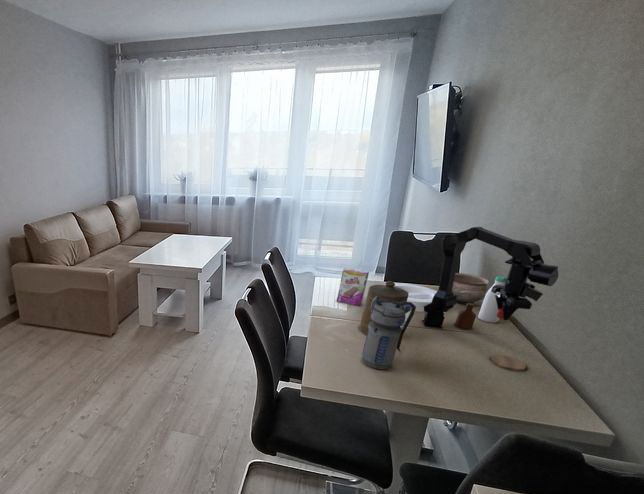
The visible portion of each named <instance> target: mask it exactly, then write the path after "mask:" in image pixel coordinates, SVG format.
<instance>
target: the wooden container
mask: <svg viewBox="0 0 644 494" xmlns="http://www.w3.org/2000/svg"><path fill="white" fill-rule="evenodd" d="M395 283H396V282H394V281H392V280H387V281H386V282H385V284H386V285H384V284H373V285H370V286H369V287H368V291H367V295H366V299H365V303H364V307H363V310H362V314H361V318H360V323H359V330H360V331H361V333H363V334H365V335H367V332H368V327H369V323H370V322H371V321H372V319H371V314H372V312H371V304H372V300H373V299H374V298H375V297H376V296H379V300H389V303H392V302H391V301H394V302H403V301H406V302H407V299H408V295H409V294H408V292H407V291H405V290H403V289H401V288H398V287H394V286H395ZM400 306H401V307H403V305H400Z"/></svg>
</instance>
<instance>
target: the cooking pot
mask: <svg viewBox="0 0 644 494" xmlns="http://www.w3.org/2000/svg"><path fill="white" fill-rule="evenodd" d="M489 283H490V281H489V280H488V279H486V278H484V277H483V276H482V277H481V276H479V275H474V274H469V273H463V272H456V273H455V278H454V283H453V288H452V292H453V294H454V295H457V298H456V304H461V305H466V304H467V303H471V304H473V303H475V302H479V301H482V300H484V298H485V295H486V293H487V292H488V284H489Z"/></svg>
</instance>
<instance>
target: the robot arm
mask: <svg viewBox="0 0 644 494" xmlns="http://www.w3.org/2000/svg"><path fill="white" fill-rule="evenodd" d="M473 240H478V241H481V242H482V243H485V244H489V245H490V246H493V247H495V248H498V249H500V250H503V251H504V252H505V253H507V255H508V256H509V257H511V258H510V259H507V260H505V261H504V263H505V264H507V265H510V268H509V270H508V273H507V276H506V277H507V278H504V281H505V285H504V286H503V285H495V286H493V285H492V286H493V287H492V286H491V287H492V290H491V292H493V293H496V292H498V295H495V298H496V303H497V307H498V310H499V308H503V319H502V320H503V321H509V320H510V319H511V318H512V315H513V314H514V313H515V312H517V310H519V309H522V310H531V308H532V306H533V303H532V302H531V300H533V301H535V302H538V301H539V300H540V298H541V297H542V296H543V295H544V293H543V292H541V291H539V290H538V289H536V286H535V285H534V283H535V284H538V285H543V286H547V287H552V286H554V284H555V283H556V282H557V281H558V279H559V276H560V275H559V270H558V269H559V266H558V265H551V264H546V263H545V261H544V259H543V256H542V254H541V247H540V245H539V244H538V243H536V242H532V241H526V240H518V239H513V238H510V237H507V236H505V235H502V234H499V233H497V232H494V231H492V230H489V229H486V228H484V227H482V226H474V227H470V228H468V229H466V230H463V231H460V232H457V233H450V234H446V235H445V236H444V237H443V238H442V241H441V249H442V252H443V256H444V258H443V263H442V269H441V272H440V273H441V274H440V280H439V285H438V289H437V290H436V291H437V292H436V294H435V295H434V297H433V299H432V302H431V303H430V304H428V305H426V306H424V311H425V312H424V313H425V314H424V317H423V319H422V320H421V322H422V325H423V326H424V327H429V328H435V329H442V326H443V325H444V321H445V318H446V317H445V313H447V312H448V311H449V310H451V309H453V308H454V307H455V306H456V305H457V303H456V298H457V295H454V294H453V292H452V288H453V283H454V278H455V273H457V267H458V263H459V257H460V255H461V254H462V253H463V252H464V250H465V248H466V245H467V243H470V242H472V241H473ZM528 280H529V282H528ZM530 282H531V283H530ZM532 283H533V284H532ZM527 298H530V299H531V300H529V299H527ZM510 317H511V318H510ZM509 318H510V319H509ZM508 319H509V320H508Z"/></svg>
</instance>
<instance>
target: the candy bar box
mask: <svg viewBox="0 0 644 494" xmlns="http://www.w3.org/2000/svg"><path fill="white" fill-rule="evenodd" d="M369 274H370V272H369V271H367V270H361V269H356V268H355V269H354V268H349V267H344V268H343V270H342V273H341V278H340V282H339V288H338V293H337V298H336V302H337V303H343V304H347V305H352V306H356V307H361V305H362V304H363V300H364V295H365V292H366V287H367V283H368V279H369Z"/></svg>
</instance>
